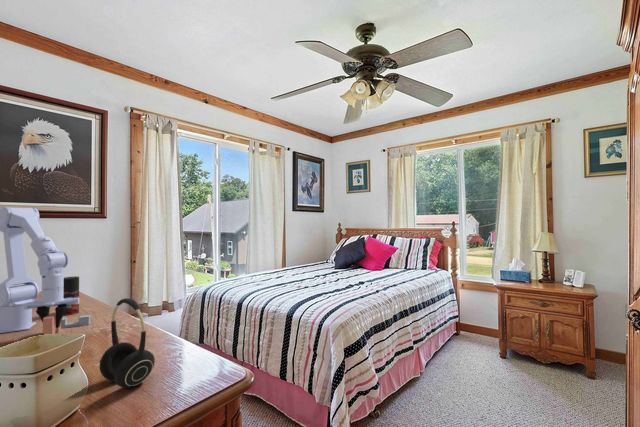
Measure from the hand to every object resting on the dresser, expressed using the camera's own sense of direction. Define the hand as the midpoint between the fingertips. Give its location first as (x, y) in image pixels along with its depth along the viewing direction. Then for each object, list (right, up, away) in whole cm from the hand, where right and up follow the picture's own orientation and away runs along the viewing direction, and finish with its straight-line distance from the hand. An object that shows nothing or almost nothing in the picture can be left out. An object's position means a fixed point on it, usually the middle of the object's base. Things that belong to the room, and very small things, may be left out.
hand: (52, 327), depth 106 cm
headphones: (+45, -2, -32) cm, 56 cm away
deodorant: (-14, -3, +24) cm, 28 cm away
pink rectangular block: (0, -2, 0) cm, 2 cm away
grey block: (0, -3, +9) cm, 9 cm away
